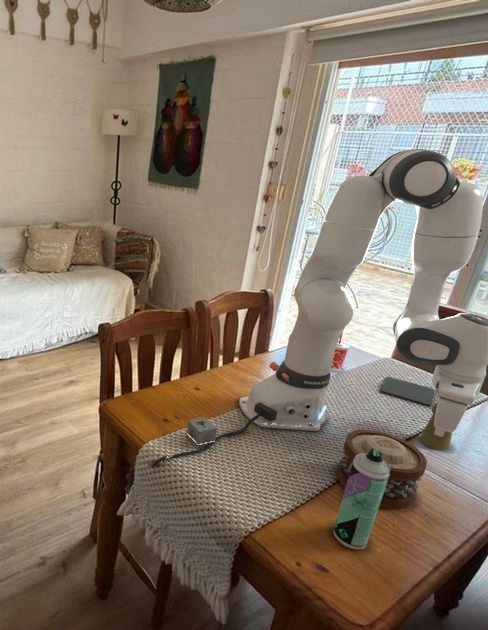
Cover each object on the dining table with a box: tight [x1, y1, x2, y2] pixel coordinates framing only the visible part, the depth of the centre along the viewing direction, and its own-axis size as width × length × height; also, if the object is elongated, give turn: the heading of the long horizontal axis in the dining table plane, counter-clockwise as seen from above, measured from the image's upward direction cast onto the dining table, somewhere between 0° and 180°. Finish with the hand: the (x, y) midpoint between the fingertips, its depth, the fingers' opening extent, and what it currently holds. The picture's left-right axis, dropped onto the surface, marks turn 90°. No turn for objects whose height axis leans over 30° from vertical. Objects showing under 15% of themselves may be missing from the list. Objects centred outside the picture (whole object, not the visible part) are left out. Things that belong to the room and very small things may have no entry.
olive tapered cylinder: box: [419, 402, 453, 451], centre depth 109 cm, size 6×6×11 cm
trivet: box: [380, 376, 435, 407], centre depth 134 cm, size 12×12×1 cm
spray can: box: [332, 449, 390, 551], centre depth 80 cm, size 6×6×20 cm
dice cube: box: [185, 416, 218, 450], centre depth 111 cm, size 5×5×5 cm
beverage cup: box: [330, 331, 351, 372], centre depth 146 cm, size 6×6×14 cm
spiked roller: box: [336, 429, 428, 510], centre depth 95 cm, size 15×11×15 cm
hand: (439, 428), depth 110 cm, fingers closed on olive tapered cylinder, 4 cm apart
